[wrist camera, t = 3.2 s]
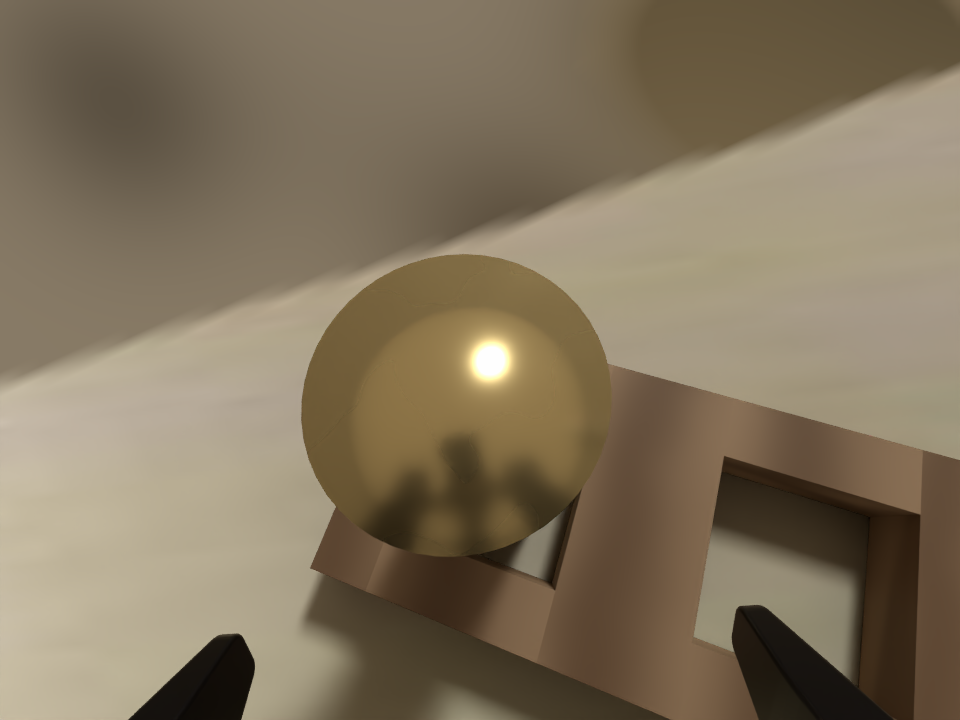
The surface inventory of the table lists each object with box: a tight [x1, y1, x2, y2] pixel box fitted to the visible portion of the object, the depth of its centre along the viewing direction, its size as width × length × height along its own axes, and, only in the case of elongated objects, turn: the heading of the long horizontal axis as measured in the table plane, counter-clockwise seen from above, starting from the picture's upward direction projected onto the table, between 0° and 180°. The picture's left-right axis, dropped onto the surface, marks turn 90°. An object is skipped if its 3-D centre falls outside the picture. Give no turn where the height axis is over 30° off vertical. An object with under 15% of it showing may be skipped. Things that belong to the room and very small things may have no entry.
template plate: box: [310, 364, 960, 720], centre depth 18 cm, size 22×11×2 cm, turn 71°
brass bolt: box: [301, 254, 612, 557], centre depth 14 cm, size 5×5×14 cm
